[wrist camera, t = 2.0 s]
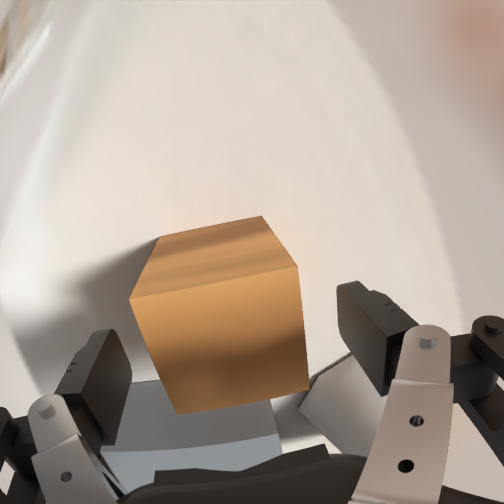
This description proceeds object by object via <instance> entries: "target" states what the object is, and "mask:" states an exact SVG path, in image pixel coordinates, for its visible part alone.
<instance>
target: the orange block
mask: <svg viewBox="0 0 504 504" xmlns="http://www.w3.org/2000/svg"><path fill="white" fill-rule="evenodd" d="M129 302H130V305H131V307H132V310H133V313H134V316H135V318H136V321H137V324H138V326H139V329H140V331H141V334H142V337H143V339H144V342H145V344H146V347H147V349H148V351H149V354H150V356H151V359H152V361H153V363H154V366H155V368H156V370H157V373H158V375H159V377H160V379H161V382H162V384H163V386H164V388H165V390H166V393H167V395H168V397H169V399H170V401H171V403H172V405H173V407H174V409H175V411H176V413H177V414H185V413H193V412H200V411H207V410H214V409H220V408H226V407H232V406H238V405H243V404H248V403H253V402H258V401H263V400H268V399H272V398H277V397H281V396H286V395H290V394H294V393H298V392H302V391H306V390H310V386H309V373H308V362H307V351H306V340H305V330H304V320H303V311H302V302H301V293H300V284H299V275H298V267H297V265H296V263H295V262H294V260H293V259H292V258H291V256H290V255H289V253H288V252H287V251H286V249H285V248H284V246H283V245H282V244H281V242H280V241H279V239H278V238H277V237H276V235H275V234H274V232H273V231H272V230H271V228H270V227H269V225H268V224H267V223H266V221H265V220H264V219H263V217H262V216H258V217H253V218H248V219H243V220H237V221H232V222H227V223H222V224H217V225H212V226H208V227H203V228H198V229H193V230H188V231H183V232H179V233H174V234H169V235H165V236H160V238H159V240H158V241H157V243H156V245H155V247H154V249H153V251H152V253H151V255H150V257H149V259H148V261H147V263H146V265H145V267H144V269H143V271H142V273H141V275H140V277H139V279H138V281H137V283H136V285H135V287H134V289H133V291H132V293H131V295H130V298H129Z"/></svg>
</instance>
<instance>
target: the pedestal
mask: <svg viewBox="0 0 504 504" xmlns="http://www.w3.org/2000/svg"><path fill="white" fill-rule="evenodd" d="M100 452H101V453H102V455H103V456H104V457H105V459H106V460H107V462H108V464H109V465H110V467H111V468H112V470H113V471H114V473H115V474H116V476H117V477H118V479H119V480H120V482H121V483H122V484H123V486H124V487H125V489H126V490H127V491H128V493H129V492H131V491H133V490H134V489H137V488H139V487H141V486H143V485H146V484H149V483H153V482H154V474H155V471H156V470H175V469H188V468H199V469H209V470H221V471H242V470H245V469H247V468H250V467H253V466H255V465H258V464H260V463H263V462H265V461H267V460H270V459H272V458H275V457H277V456H279V455H281V454H283V453H282V448H281V443H280V438H279V433H278V429H277V425H276V422H275V418H274V414H273V410H272V406H271V402H270V399H268V400H263V401H258V402H253V403H248V404H243V405H238V406H232V407H226V408H220V409H214V410H207V411H200V412H193V413H185V414H177V413H176V411H175V409H174V407H173V405H172V403H171V401H170V399H169V397H168V395H167V393H166V390H165V388H164V386H163V384H162V382H161V380H156V381H147V382H138V383H131V384H130V388H129V391H128V395H127V399H126V403H125V406H124V410H123V414H122V418H121V422H120V426H119V430H118V434H117V438H116V442H115V446H101V449H100Z"/></svg>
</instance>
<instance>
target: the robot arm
mask: <svg viewBox="0 0 504 504" xmlns="http://www.w3.org/2000/svg"><path fill="white" fill-rule="evenodd" d="M337 310H338V327H339V331H340V335H341V337H342V339H343V341H344V342H345V344H346V345H347V347H348V348H349V350H350V351H351V353H352V354H353V356H354V357H355V359H356V360H357V362H358V363H359V365H360V366H361V368H362V369H363V371H364V372H365V374H366V375H367V377H368V378H369V380H370V381H371V383H372V384H373V386H374V387H375V389H376V390H377V392H378V393H379V395H380V396H381V397H384V396H386V395H388V397H387V401H386V404H385V408H384V411H383V414H382V417H381V421H380V424H379V427H378V430H377V433H376V436H375V439H374V442H373V445H372V448H371V450H370V453H369V456H368V457H365V456H360V455H354V454H329V453H328V451H327V448H326V446H325V443H324V444H320V445H317V446H313V447H309V448H306V449H302V450H298V451H293V452H289V453H285V454H281V455H279V456H277V457H275V458H272V459H270V460H267V461H265V462H263V463H260V464H258V465H255V466H253V467H250V468H247V469H245V470H242V471H221V470H209V469H199V468H188V469H175V470H156V471H155V474H154V482H153V483H149V484H146V485H143V486H141V487H139V488H137V489H134V490H133V491H131V492H129V493H128V491H127V490H126V489H125V487H124V486H123V484H122V483H121V482H120V480H119V479H118V477H117V476H116V474H115V473H114V471H113V470H112V468H111V467H110V465H109V464H108V462H107V460H106V459H105V457H104V456H103V455H102V453H101V452H100V449H101V446H115V442H116V438H117V434H118V430H119V426H120V422H121V418H122V414H123V410H124V406H125V403H126V399H127V395H128V391H129V388H130V384H131V381H132V370H131V366H130V363H129V361H128V358H127V356H126V354H125V351H124V349H123V347H122V344H121V342H120V340H119V337H118V335H117V333H116V331H115V330H113V329H109V330H102V331H95V332H93V334H92V335H91V337H90V339H89V341H88V343H87V344H86V346H84V347H83V348H82V349H81V350H80V351H79V352H77V353H76V354H75V356H74V358H73V360H72V361H71V363H70V364H71V365H69V367H68V369H67V370H66V371H67V372H66V373H65V374H64V376H63V378H62V380H61V382H60V383H59V385H58V387H57V389H56V391H55V393H54V394H51V395H46V396H43V397H41V398H40V399H38V400H37V401H35V402H34V403H33V404H32V406H31V407H30V409H29V411H28V415H27V416H23V417H19V418H15V419H13V417H12V416H11V414H10V413H9V412H8V410H7V409H6V408H4V407H0V471H1V469H2V466H3V464H4V461H6V462H7V463H8V464H9V465H10V467H12V469H13V470H14V471H15V472H14V475H13V478H12V481H11V484H10V487H9V490H8V493H7V495H5V494H4V493H3V492H2V490H1V489H0V504H46V503H47V504H504V502H499V501H495V500H491V499H487V498H483V497H480V496H476V495H472V494H469V493H465V492H462V491H459V490H456V489H452V488H449V487H446V486H443V485H442V482H443V476H444V470H445V465H446V459H447V453H448V446H449V438H450V430H451V420H452V408H453V404H454V403H458V404H459V405H460V406H461V408H462V409H463V410H464V412H465V413H466V414H467V416H468V417H469V418H470V420H471V421H472V423H473V424H474V425H475V427H476V428H477V429H478V430H479V432H480V434H481V435H482V436H483V437H484V439H485V440H486V442H487V443H488V445H489V446H490V447H491V449H492V450H493V452H494V453H495V455H496V456H497V458H498V459H499V461H500V462H501V463H502V465H503V466H504V391H503V390H502V388H501V387H500V386H499V385H498V384H497V383H496V382H497V380H498V377H499V376H500V377H501V378H502V379H503V381H504V319H503V318H500V317H497V316H482V317H479V318H477V319H476V320H475V321H474V322H473V325H472V330H471V333H470V334H464V335H457V336H449V334H448V332H447V331H445V330H444V329H442V328H440V327H438V326H434V325H419V324H418V323H417V322H416V321H415V320H413V319H412V318H411V317H410V316H409V315H408V314H407V313H406V312H405V311H404V310H402V309H400V307H399V306H398V305H397V304H396V303H394V302H393V301H392V300H391V299H390V298H389V297H388V296H387V295H385V294H383V293H380V292H378V291H375V290H372V291H369V290H368V289H367V288H366V287H365V286H364V285H363V284H361V283H360V282H359V281H354V282H349V283H345V284H341V285H338V286H337Z"/></svg>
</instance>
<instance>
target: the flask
mask: <svg viewBox="0 0 504 504" xmlns="http://www.w3.org/2000/svg"><path fill="white" fill-rule="evenodd" d="M387 397H388V395H386V396H384V397H381V396H380V395H379V393H378V392H377V390H376V389H375V387H374V386H373V384H372V383H371V381H370V380H369V378H368V377H367V375H366V374H365V372H364V371H363V369H362V368H361V366H360V365H359V363H358V362H357V360H356V359H355V357H354V356H353V355H351V356H350V357H348V358H347V359H345V360H344V361H342V362H341V363H339V364H337V365H336V366H334V367H333V368H331V369H329V370H328V371H326V372H324V373H323V374H321V375H320V376H318V378H317V380H316V381H315V383H314V385H313V386H312V388H311V390H310V391H309V393H308V395H307V396H306V398H305V399H304V401H303V403H302V404H301V406H300V407H299V409H298V410H299V411H300V412H301V413H302V414H303V415H304V416H305V417H306V418H307V419H308V420H309V421H310V422H311V423H312V424H313V425H314V426H315V427H316V428H317V429H318V430H319V431H320V432H321V433H322V434H323V435H324V436H325V437H326V438H327V439H328V440H329V441H330V442H331V443H332V444H333V445H334V446H336V447H337V448H338V449H339V450H340V451H341V452H342V453H343V454H354V455H360V456H365V457H368V456H369V453H370V450H371V448H372V445H373V442H374V439H375V436H376V433H377V430H378V427H379V424H380V421H381V417H382V414H383V411H384V408H385V404H386V401H387Z"/></svg>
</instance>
